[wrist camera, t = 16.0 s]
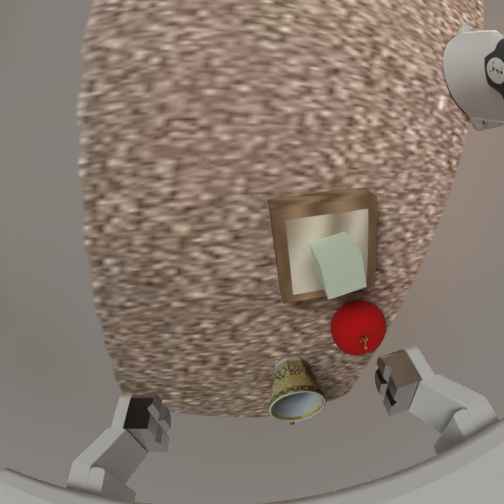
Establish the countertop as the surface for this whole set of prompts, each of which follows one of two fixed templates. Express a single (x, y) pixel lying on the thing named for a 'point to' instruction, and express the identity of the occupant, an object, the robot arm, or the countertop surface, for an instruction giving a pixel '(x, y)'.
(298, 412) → the ceramic cup
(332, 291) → the block
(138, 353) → the countertop surface
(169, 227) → the countertop surface
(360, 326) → the fruit
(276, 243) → the base
